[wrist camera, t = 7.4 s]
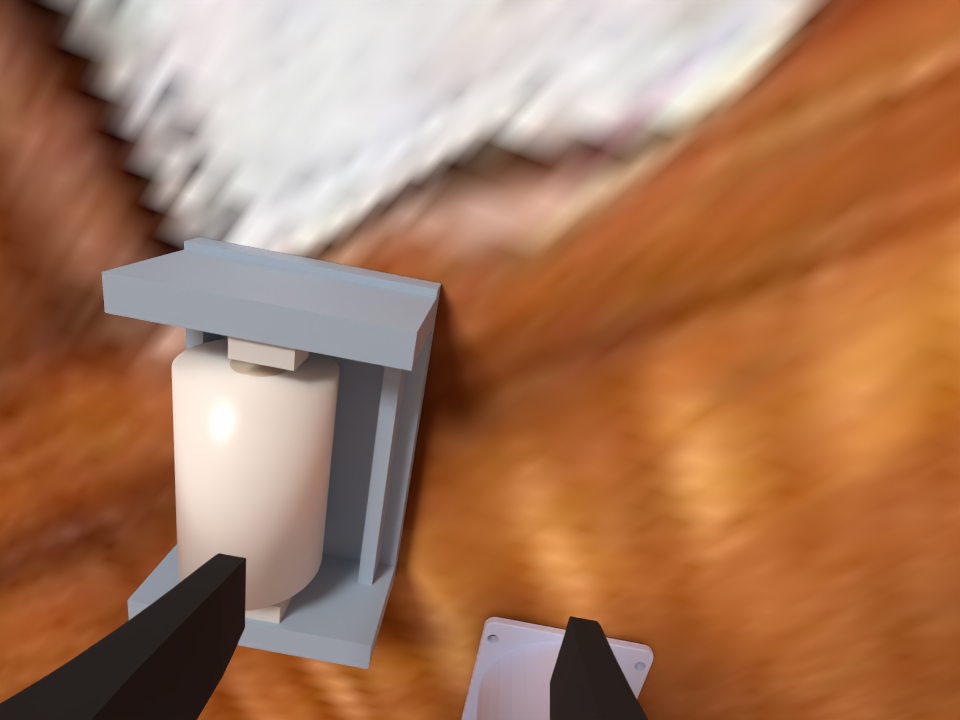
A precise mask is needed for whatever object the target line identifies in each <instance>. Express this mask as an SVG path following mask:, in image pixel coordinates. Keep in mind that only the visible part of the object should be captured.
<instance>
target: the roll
mask: <svg viewBox="0 0 960 720" xmlns="http://www.w3.org/2000/svg"><path fill="white" fill-rule="evenodd" d="M338 381H339V366H338V364H337V362H336V361H335V360H334V359H333V358H332V357H331V356H330V355H325V354H320V353H314V352H309V356H308V358H307V359H306V360H305V361H304V362H303V363H302V364H301V365H300V366H299V367H297V368H296V369H295V370H294V371H292V370H286V369H281V368H276V367H270V366H265V365H260V364H255V363H249V362H244V361H239V360H234V359H228V339H221V340H215V341H210V342H206V343H202V344H199V345H196V346H193V347H191V348H189V349H187V350H185V351H183V352H182V353H180V354H179V355H178V356H177V357H176V358H175V359H174V361H173V363H172V392H173V424H174V456H175V488H176V519H177V551H178V577H179V581H180V582H181V581H182V580H184V579H185V578H186V577H188V576H189V575H190V574H191V573H193V572H194V571H195V570H197V569H198V568H199V567H201V566H202V565H203V564H204V563H206V562H207V561H208V560H210V559H211V558H212V557H214V556H215V555H217V554H218V553H221V554H226V555H232V556H237V557H243V558H246V600H245V611H250V610H257V609H262V608H266V607H269V606H272V605H275V604H278V603H280V602H282V601H285V600H287V599H289V598H290V597H292V596H294V595H296V594H297V593H298V592H300V591H301V590H302V589H304V588H305V587H306V586H307V585H308V584H309V583H310V582H311V580H312V579H313V578H314V577H315V575H316V574H317V572H318V570H319V568H320V565H321V561H322V554H323V543H324V532H325V521H326V511H327V500H328V489H329V478H330V468H331V457H332V446H333V435H334V424H335V414H336V403H337V392H338Z"/></svg>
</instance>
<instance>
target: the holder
mask: <svg viewBox="0 0 960 720" xmlns="http://www.w3.org/2000/svg"><path fill="white" fill-rule="evenodd" d="M102 281H103V294H104V306H105V313H109V314H115V315H120V316H125V317H130V318H136V319H141V320H146V321H152V322H157V323H162V324H167V325H173V326H178V327H183V328H186V350H187V349H189V348H191V347H193V346H196V345H199V344H202V343H206V342H210V341H215V340H221V339H228V359H234V360H239V361H244V362H249V363H255V364H260V365H265V366H270V367H276V368H281V369H286V370H292V371H294V370H295V369H296V368H297V367H299V366H300V365H301V364H302V363H303V362H304V361H305V360H306V359H307V358H308V356H309V352H314V353H320V354H325V355H330V356H331V357H332V358H333V359H334V360H335V361H336V362H337V364H338V366H339V381H338V392H337V403H336V414H335V424H334V435H333V446H332V457H331V468H330V478H329V489H328V500H327V511H326V521H325V532H324V543H323V554H322V561H321V565H320V568H319V570H318V572H317V574H316V575H315V577H314V578H313V579H312V580H311V582H310V583H309V584H308V585H307V586H306V587H305V588H304V589H302V590H301V591H300V592H298V593H297V594H296V595H294V596H292V597H290V598H289V599H287V600H285V601H282V602H280V603H278V604H275V605H272V606H269V607H266V608H262V609H257V610H250V611H245V629H244V631H243V633H242V636H241V638H240V640H239V642H238V644H237V645H240V646H246V647H251V648H257V649H262V650H267V651H273V652H278V653H284V654H289V655H294V656H300V657H305V658H311V659H316V660H321V661H327V662H332V663H338V664H343V665H348V666H354V667H359V668H364V669H368V668H369V665H370V661H371V658H372V654H373V651H374V647H375V644H376V640H377V637H378V633H379V630H380V626H381V623H382V619H383V616H384V612H385V609H386V605H387V602H388V598H389V595H390V593H391V590H392V587H393V583H394V580H395V575H396V569H397V563H398V556H399V550H400V544H401V537H402V531H403V524H404V518H405V512H406V505H407V499H408V493H409V486H410V480H411V473H412V467H413V461H414V454H415V448H416V442H417V435H418V429H419V422H420V416H421V410H422V403H423V397H424V391H425V384H426V378H427V371H428V365H429V359H430V352H431V346H432V340H433V333H434V327H435V320H436V314H437V308H438V301H439V295H440V289H441V283H436V282H431V281H425V280H420V279H415V278H410V277H404V276H399V275H394V274H389V273H384V272H378V271H373V270H368V269H363V268H358V267H352V266H347V265H342V264H337V263H332V262H326V261H321V260H316V259H311V258H305V257H300V256H295V255H290V254H285V253H279V252H274V251H269V250H264V249H259V248H253V247H248V246H243V245H238V244H232V243H227V242H222V241H217V240H212V239H206V238H201V237H199V238H195V239H191V240H187V241H184V250H181V251H178V252H174V253H170V254H167V255H163V256H159V257H156V258H152V259H148V260H145V261H141V262H137V263H133V264H130V265H126V266H122V267H119V268H115V269H111V270H108V271H104V272H102ZM178 583H180V581H179V577H178V551H177V545H176V546H175V547H174V548H173V549H172V550H171V551H170V553H169V554H168V555H167V556H166V557H165V558H164V559H163V561H162V562H161V563H160V564H159V565H158V566H157V567H156V569H155V570H154V571H153V572H152V573H151V574H150V575H149V577H148V578H147V579H146V580H145V581H144V582H143V583H142V585H141V586H140V587H139V588H138V589H137V590H136V591H135V592H134V594H133V595H132V596H131V597H130V598H129V599H128V600H127V601H128V614H129V620H130V619H131V618H133V617H134V616H136V615H137V614H138V613H140V612H141V611H142V610H144V609H145V608H147V607H148V606H149V605H151V604H152V603H153V602H155V601H156V600H157V599H159V598H160V597H161V596H163V595H164V594H165V593H167V592H168V591H169V590H171V589H172V588H173V587H175V586H176V585H177V584H178Z"/></svg>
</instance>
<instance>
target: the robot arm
mask: <svg viewBox="0 0 960 720" xmlns="http://www.w3.org/2000/svg"><path fill="white" fill-rule="evenodd" d="M245 600H246V558H243V557H237V556H232V555H226V554H221V553H218V554H217V555H215V556H214V557H212V558H211V559H210V560H208V561H207V562H206V563H204V564H203V565H202V566H201V567H199V568H198V569H197V570H195V571H194V572H193V573H191V574H190V575H189V576H188V577H186V578H185V579H184V580H182V581H181V582H180V583H178V584H177V585H176V586H175V587H173V588H172V589H171V590H169V591H168V592H167V593H165V594H164V595H163V596H161V597H160V598H159V599H157V600H156V601H155V602H153V603H152V604H151V605H149V606H148V607H147V608H145V609H144V610H142V611H141V612H140V613H138V614H137V615H136V616H134V617H133V618H131V619H130V620H129V621H127V622H126V623H125V624H123V625H122V626H120V627H119V628H118V629H116V630H115V631H113V632H112V633H110V634H109V635H107V636H106V637H105V638H103V639H102V640H100V641H99V642H97V643H96V644H94V645H93V646H91V647H90V648H88V649H87V650H85V651H84V652H82V653H81V654H79V655H78V656H76V657H75V658H73V659H72V660H71V661H69V662H67V663H66V664H64V665H63V666H61V667H60V668H58V669H56V670H55V671H53V672H52V673H50V674H49V675H47V676H45V677H44V678H42V679H41V680H39V681H37V682H36V683H34V684H32V685H31V686H29V687H27V688H26V689H24V690H22V691H21V692H19V693H17V694H16V695H14V696H12V697H11V698H9V699H7V700H6V701H4V702H2V703H0V720H197V718H198V717H199V715H200V713H201V712H202V710H203V708H204V707H205V705H206V703H207V702H208V700H209V698H210V697H211V695H212V693H213V692H214V690H215V688H216V686H217V685H218V683H219V681H220V680H221V678H222V676H223V674H224V672H225V670H226V668H227V666H228V664H229V662H230V659H231V657H232V655H233V653H234V651H235V649H236V647H237V644H238V642H239V640H240V638H241V636H242V633H243V631H244V629H245ZM491 635H496V636H491ZM653 659H654V656H653V652H652V649H651V648H650V647H649V646H647V645H644V644H639V643H634V642H628V641H623V640H618V639H612V638H607V637H606V636H605V634H604V632H603V630H602V628H601V626H600V624H599V623H598V621H593V620H587V619H582V618H576V617H571V616H570V618H569V621H568V625H567V628H566V630H564V629H559V628H553V627H548V626H542V625H537V624H532V623H526V622H521V621H516V620H510V619H505V618H500V617H491V618H489V619H487V620H486V622H485V624H484V628H483V632H482V636H481V640H480V644H479V648H478V652H477V657H476V661H475V665H474V669H473V673H472V677H471V681H470V685H469V689H468V693H467V697H466V702H465V706H464V710H463V714H462V718H461V720H648V719H647V717H646V715H645V713H644V711H643V710H642V708H641V706H640V704H639V702H638V700H637V699H638V696H639V694H640V691H641V689H642V686H643V684H644V682H645V679H646V677H647V674H648V672H649V669H650V667H651V665H652V662H653ZM638 662H641V663H638Z"/></svg>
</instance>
